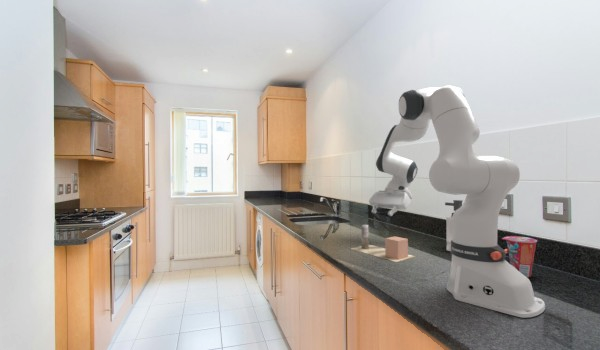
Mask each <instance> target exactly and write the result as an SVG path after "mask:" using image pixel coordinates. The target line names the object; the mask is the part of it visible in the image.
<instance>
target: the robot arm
mask: <svg viewBox="0 0 600 350" xmlns="http://www.w3.org/2000/svg"><path fill="white" fill-rule="evenodd" d="M398 112H399V115H400V116H401V117H400V121H399V122H398V124H394V125H393V126H392V128H391V129H390V130H389V132H388V134H387V136H386V139H385V140H384V143H383V146H382V148H381V151H380V153H379V155H378V157H377V158H376V162H375V166H376V168H377V171H379V172H381V173H385V174H388V175H391V176H392V179H391V180H390V181H388V184H387V185H386V186H385V189H384V190H378V191H376V192H374V193H373V195H372V196H371V197H370V198H369V200H368V202H369V204H370V206H371V207H372V209H371V213H372V214H377V212H378V210H377V209H378V208H383V209H390V210H388V212H387V215H388V216H390V217H393V215H394V214H395V213H397V212H398V210H400V211H401V210H402V211H405V210H407V209H408V208H409V206H410V204H411V202H412V199H413V197H414V196H413V194H412V192H411V191H410V189H409V188H408V187H410V185H411V183H412V182H414V179H415V177H416V176H417V174H418V170H419V168H418V166H417V164H416V162H415V161H414V160H411V159H409V158H406V157H403V156H400V155H398V154H395V153H393V152H392V151H393V149H394V146H395V144H396V143H401V142H404V143H406V142H407V143H409V142H410V143H412V142H415V141H418V140H420V139H422V138H423V137H425V135H426V133H427V131H428V128H429V126H430V122H432V125H433V127H434V130H435V134H436V137H437V139H438V140H437V141H438V143H439V144H438V145H439V146H438V147H439V153H438V156H437V158H436V160H434V161H433V163H432V164H431V166H430V168H429V171H428V179H429V182H430V184H431V186H432V188H433V189H434V190H435V191H437V192H439V193H444V194H448V195H449V194H450V195H456V196H457V195H466V196H465V200H463V201H464V202H462V206H461V207H460V208H459V209H457V210H456V211H454V212H453V213H454V214H453V216H452V240H451V251H450V259H451V265H450V271H449V272H450V273H449V278H448V281H447V284H446V286H445V288H446V290H447V291H448V292H449V293H451V294H452V296H453V298H454V300H456V301H459V302H463V303H466V304H471V305H474V306H477V307H481V308H484V309H488V310H490V311H491V310H492V311H496V312H499V313H504V314H507V315H510V316H515V317H518V318H527V319H528V318H534V317H537V316H539V315H541V314H542V313H543V312H545V310H546V304H545V303H546V302H545V301H544V300H543V299H542V298H539V297H536V296H535V294H534V289H533V286H532V282H531V280H530V279H529V277H526V276H524V275H523V274H522V273H520V272H519V271H518V270H517V269H516V268H514V267H513V266H512V265H511V264H510V262H508V261H507V260H506V255H507V254H509V252H508V248H505V249H503V248H502V247H501V246H500V245H499V244H498V228H499V226H498V224H499V215H500V211H501V209H502V205H503V203H504V201H505V199H506V197H507V195H508V193H510V192H511V191H512V190H513V189H514V188H515V187H516V186H517V185H518V183H519V181H520V176H521V172H520V169H519V167H518V165H517V164H516V162H515V161H513V160H512V159H509V158H506V157H502V156H497V155H476V154H475V153H474V149H473V145H474V144H475V143H476V142H477V140H478V139H479V137H480V133H481V132H480V128H479V126H478V124H477V122H476V119H475V117H474V114H473V112H472V109H471V107H470V105H469V104H468V101H467V99H466V96H465V94H464V92H463V90H462V88H460V87H457V86H452V85H444V86H439V87H425V88H419V89H411V90H407V91H405V92H403V93H402V94H401V96H400V97H399V99H398Z"/></svg>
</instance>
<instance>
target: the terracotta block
mask: <svg viewBox="0 0 600 350" xmlns="http://www.w3.org/2000/svg"><path fill="white" fill-rule="evenodd" d="M384 239H385V240H384V241H385V245H384V247H385V256H387V257H391V258H394V259H398V260H399V259H402V258H406V257H408V255H409V239H408V238H404V237H399V236H390V237H385V238H384Z"/></svg>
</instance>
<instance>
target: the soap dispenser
mask: <svg viewBox="0 0 600 350" xmlns="http://www.w3.org/2000/svg"><path fill="white" fill-rule="evenodd" d="M452 201H453V202H447V201H446V202H444V205H445V206H447V207H448V206H451V207H453V211H454V212H455V211H456V210H457V209H459V208H460V207H461V206H462V205H463V203H464V202H463V201H464V200H460V199H453V200H452ZM454 212H452V213H451V216H446V219H445V220H446V222H445V224H446V227H445V229H446V233H445V235H446V251H448V252H451V240H452V216H453V214H454Z"/></svg>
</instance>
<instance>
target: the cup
mask: <svg viewBox="0 0 600 350" xmlns="http://www.w3.org/2000/svg"><path fill="white" fill-rule="evenodd" d="M501 239H502V240H506V245H507V249H508V250H507V252H508V256H509V264H511V265H512V266H513V267H514V268H516V269H517V270H518V271H519V272H520V273H522V274H523V275H524V276H526V277H527V278H531V277H532V272H533V266H534V265H533V264H534V259H535V258H534V257H535V252H536V247H537V246H536V245H537V243H538V239H535V238H532V237H526V236H520V235H519V236H518V235H510V236H509V235H507V236H504V237H502V238H501Z"/></svg>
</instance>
